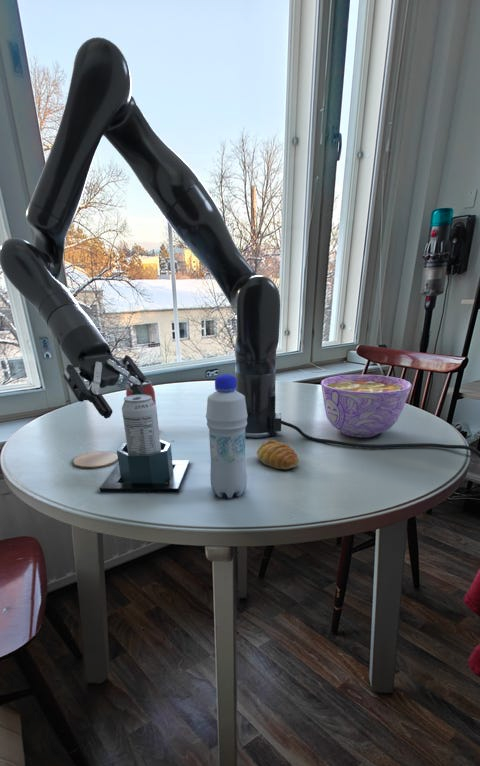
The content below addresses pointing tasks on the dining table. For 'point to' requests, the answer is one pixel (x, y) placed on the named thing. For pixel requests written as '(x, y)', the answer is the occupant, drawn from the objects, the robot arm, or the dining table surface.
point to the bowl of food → (364, 403)
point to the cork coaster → (95, 459)
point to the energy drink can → (141, 424)
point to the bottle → (227, 437)
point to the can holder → (146, 472)
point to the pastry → (277, 455)
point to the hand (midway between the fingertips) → (128, 410)
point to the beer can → (147, 388)
